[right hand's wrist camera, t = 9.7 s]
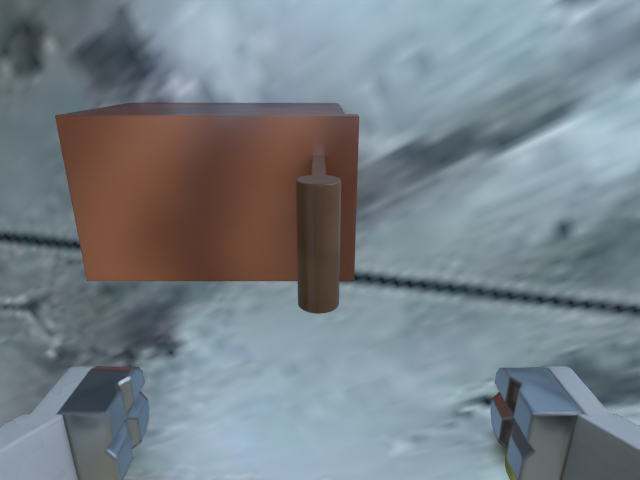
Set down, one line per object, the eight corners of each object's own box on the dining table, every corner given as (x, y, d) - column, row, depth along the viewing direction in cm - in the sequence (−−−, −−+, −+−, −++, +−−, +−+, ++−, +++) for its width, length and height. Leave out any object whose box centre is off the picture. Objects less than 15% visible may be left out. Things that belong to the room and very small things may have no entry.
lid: (357, 114, 25) (375, 133, 17) (352, 274, 28) (365, 352, 20) (64, 113, 25) (-53, 133, 17) (94, 274, 28) (8, 352, 20)
